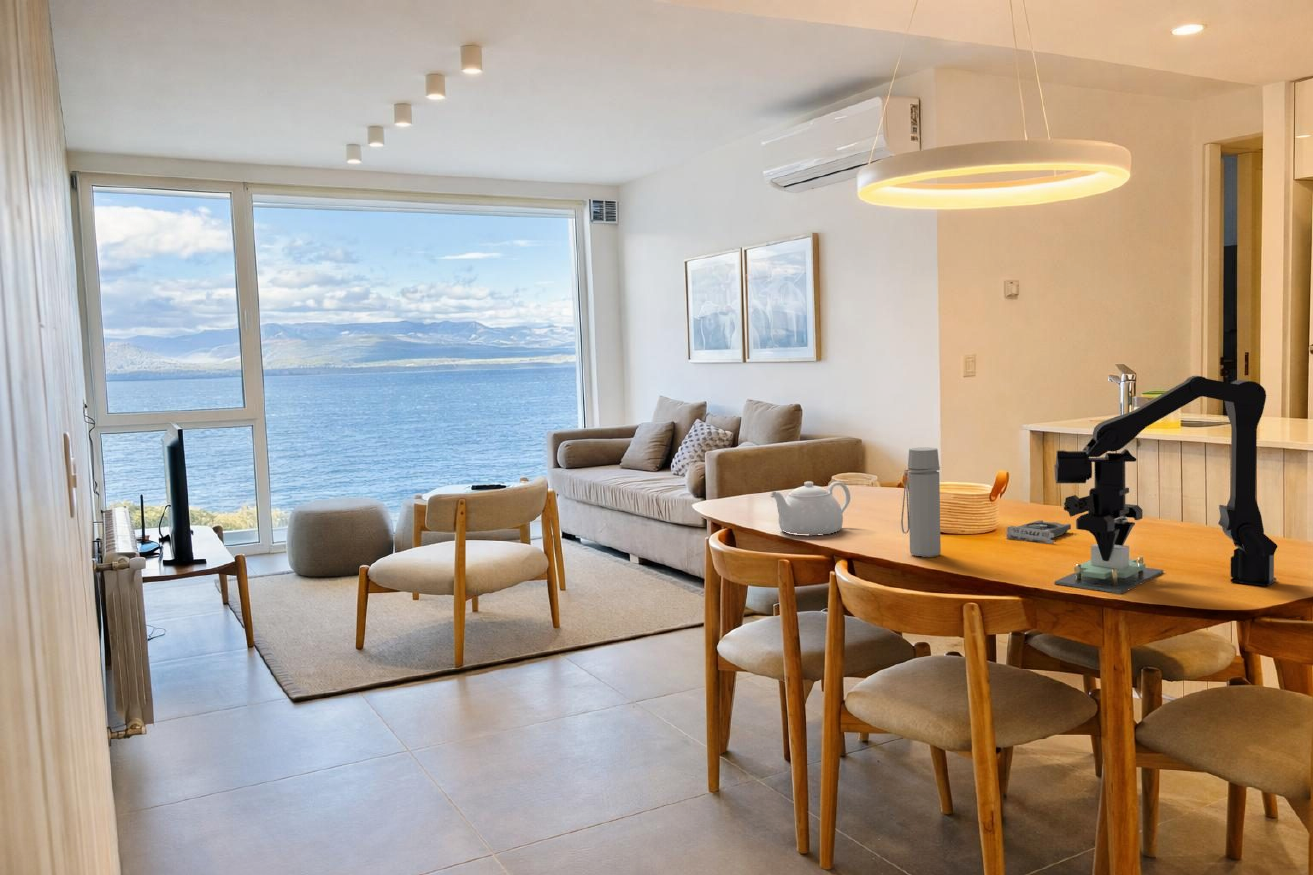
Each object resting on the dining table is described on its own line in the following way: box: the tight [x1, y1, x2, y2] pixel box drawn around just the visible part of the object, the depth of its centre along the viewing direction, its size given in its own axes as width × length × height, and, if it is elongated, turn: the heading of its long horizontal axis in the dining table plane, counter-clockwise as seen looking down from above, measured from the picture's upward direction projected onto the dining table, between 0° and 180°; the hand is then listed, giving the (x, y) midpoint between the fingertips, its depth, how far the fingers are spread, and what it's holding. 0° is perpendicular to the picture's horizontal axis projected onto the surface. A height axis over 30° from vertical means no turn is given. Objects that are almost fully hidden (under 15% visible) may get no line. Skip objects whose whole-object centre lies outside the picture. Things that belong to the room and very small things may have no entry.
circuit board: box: [1074, 543, 1146, 579], centre depth 200 cm, size 10×16×5 cm, turn 133°
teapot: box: [769, 481, 851, 535], centre depth 264 cm, size 19×18×14 cm
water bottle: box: [900, 447, 942, 558], centre depth 229 cm, size 9×8×25 cm
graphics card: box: [1005, 520, 1072, 545], centre depth 245 cm, size 17×4×12 cm
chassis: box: [1054, 556, 1164, 595], centre depth 200 cm, size 13×22×4 cm, turn 133°
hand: (1110, 558), depth 200 cm, fingers closed on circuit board, 4 cm apart
